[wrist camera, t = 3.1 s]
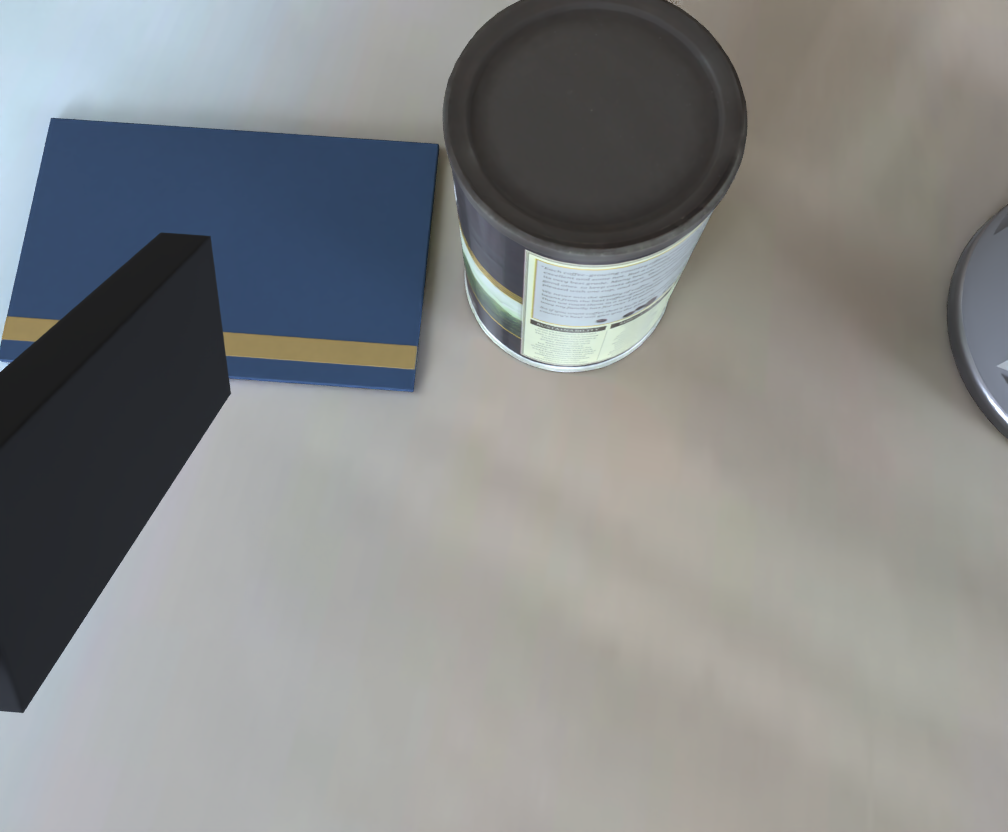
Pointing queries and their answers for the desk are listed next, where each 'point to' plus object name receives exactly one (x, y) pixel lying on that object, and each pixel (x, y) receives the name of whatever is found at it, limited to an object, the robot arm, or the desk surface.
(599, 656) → the desk surface
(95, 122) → the blue flat rectangular block
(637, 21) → the coffee can
